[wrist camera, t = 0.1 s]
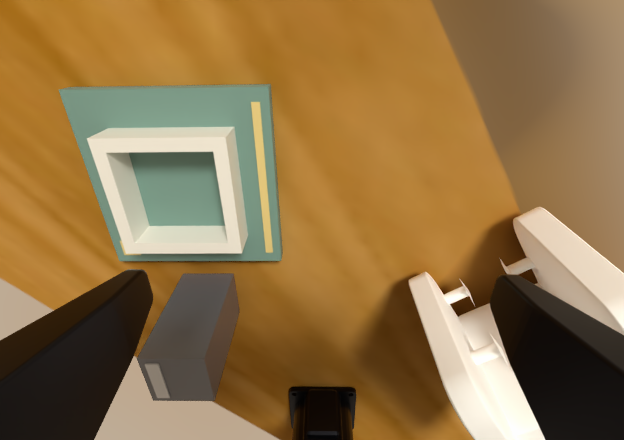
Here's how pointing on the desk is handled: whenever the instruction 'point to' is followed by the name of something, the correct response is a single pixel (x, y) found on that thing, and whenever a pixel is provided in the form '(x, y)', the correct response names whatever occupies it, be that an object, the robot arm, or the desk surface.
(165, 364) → the plug
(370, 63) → the desk surface
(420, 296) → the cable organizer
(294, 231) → the desk surface
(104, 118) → the board
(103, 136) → the socket
